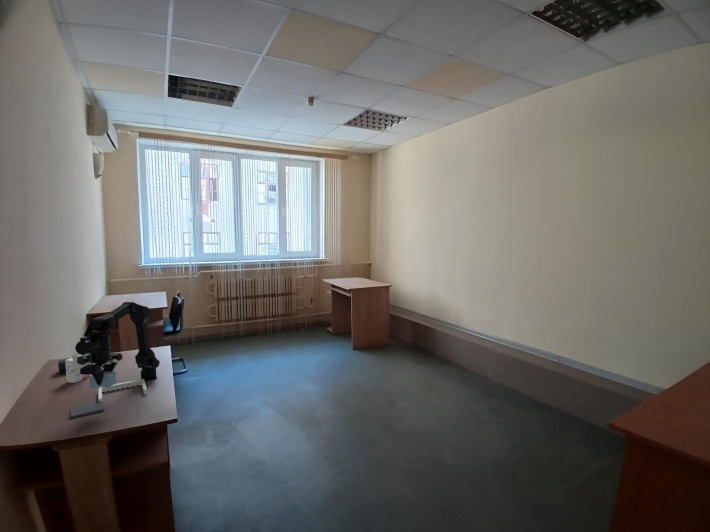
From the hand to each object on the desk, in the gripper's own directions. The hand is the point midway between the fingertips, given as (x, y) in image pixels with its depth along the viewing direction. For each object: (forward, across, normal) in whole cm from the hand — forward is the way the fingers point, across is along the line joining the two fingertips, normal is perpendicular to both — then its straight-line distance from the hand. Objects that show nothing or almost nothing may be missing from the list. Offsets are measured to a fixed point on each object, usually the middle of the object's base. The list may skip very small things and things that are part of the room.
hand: (103, 382), depth 151 cm
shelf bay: (+11, -15, -1) cm, 19 cm away
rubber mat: (+11, +2, -5) cm, 13 cm away
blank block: (+1, 0, 0) cm, 1 cm away
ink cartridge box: (+11, -30, -32) cm, 46 cm away
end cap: (+11, -41, -45) cm, 62 cm away
